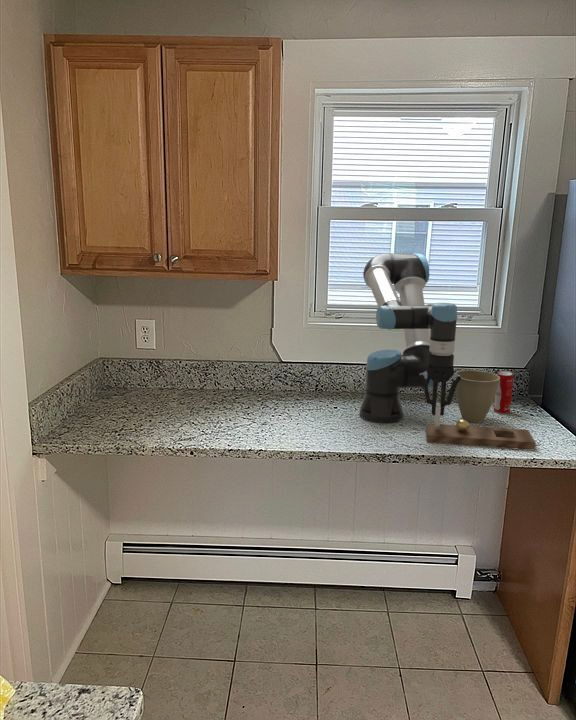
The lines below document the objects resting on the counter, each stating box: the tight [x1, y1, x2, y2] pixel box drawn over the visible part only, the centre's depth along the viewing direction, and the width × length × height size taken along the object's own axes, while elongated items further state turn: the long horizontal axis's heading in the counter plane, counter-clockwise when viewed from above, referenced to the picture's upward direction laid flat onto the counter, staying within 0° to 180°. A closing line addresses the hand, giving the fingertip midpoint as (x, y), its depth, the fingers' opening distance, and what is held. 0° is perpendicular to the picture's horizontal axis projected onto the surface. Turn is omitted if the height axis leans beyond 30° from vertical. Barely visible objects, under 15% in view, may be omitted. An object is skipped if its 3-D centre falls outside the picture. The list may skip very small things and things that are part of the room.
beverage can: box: [493, 370, 515, 415], centre depth 209 cm, size 6×6×15 cm
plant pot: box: [455, 369, 500, 423], centre depth 201 cm, size 15×15×16 cm
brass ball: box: [455, 418, 470, 432], centre depth 184 cm, size 4×4×4 cm
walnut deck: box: [425, 422, 536, 450], centre depth 184 cm, size 32×11×2 cm, turn 79°
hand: (436, 424), depth 185 cm, fingers closed
